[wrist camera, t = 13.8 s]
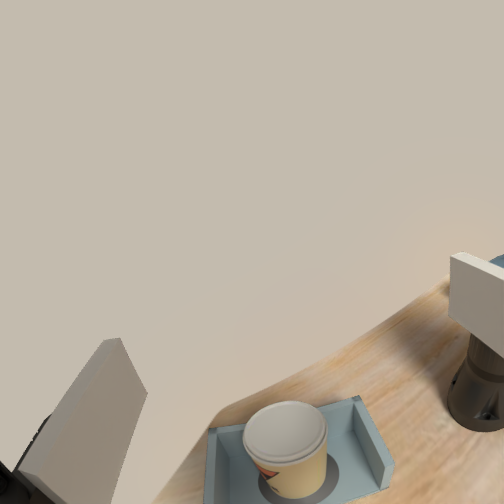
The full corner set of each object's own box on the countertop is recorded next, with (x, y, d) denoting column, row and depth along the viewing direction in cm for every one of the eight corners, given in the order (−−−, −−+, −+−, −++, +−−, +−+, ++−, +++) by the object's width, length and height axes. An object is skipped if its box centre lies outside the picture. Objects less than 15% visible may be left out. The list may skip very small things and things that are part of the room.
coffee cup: (255, 464, 33) (234, 413, 30) (317, 443, 35) (308, 388, 32) (272, 513, 24) (250, 472, 22) (343, 487, 26) (342, 439, 23)
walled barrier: (359, 424, 37) (359, 394, 35) (388, 487, 24) (395, 463, 22) (223, 454, 37) (208, 428, 35) (221, 524, 24) (203, 504, 22)
